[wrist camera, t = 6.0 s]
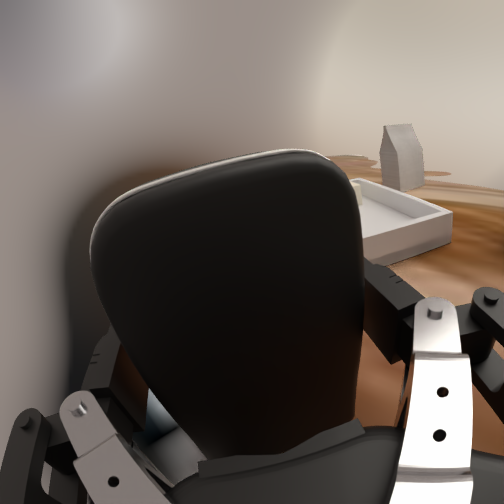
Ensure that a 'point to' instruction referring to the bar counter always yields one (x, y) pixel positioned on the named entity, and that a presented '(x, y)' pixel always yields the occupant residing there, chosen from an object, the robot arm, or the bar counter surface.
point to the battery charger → (240, 297)
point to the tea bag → (401, 158)
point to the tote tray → (399, 224)
